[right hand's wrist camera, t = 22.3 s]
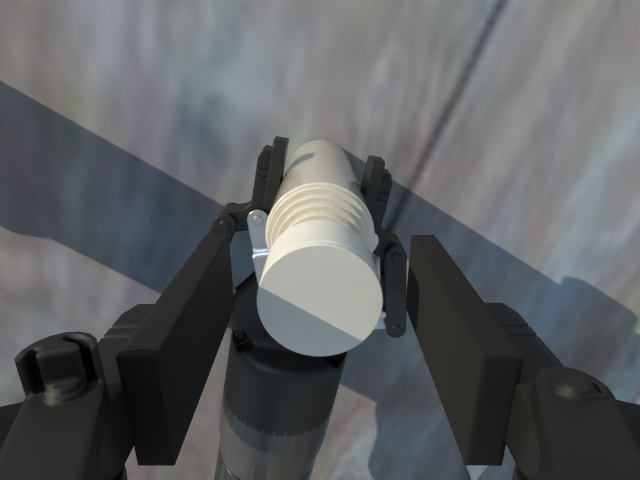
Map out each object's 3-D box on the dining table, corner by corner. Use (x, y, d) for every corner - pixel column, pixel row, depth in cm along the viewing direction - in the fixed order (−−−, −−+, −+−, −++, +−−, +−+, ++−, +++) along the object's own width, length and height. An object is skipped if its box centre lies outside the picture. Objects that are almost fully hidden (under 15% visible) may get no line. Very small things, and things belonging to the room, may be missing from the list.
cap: (243, 262, 14) (229, 294, 12) (329, 196, 13) (331, 218, 11) (311, 335, 15) (310, 376, 13) (395, 278, 15) (408, 312, 12)
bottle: (293, 207, 31) (261, 362, 14) (282, 145, 29) (230, 233, 12) (355, 198, 31) (400, 344, 14) (347, 135, 29) (387, 210, 12)
